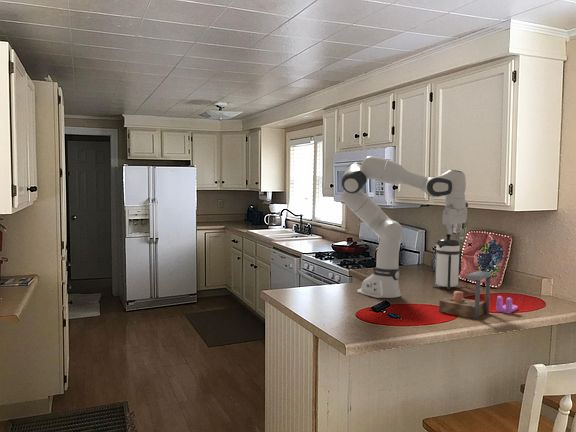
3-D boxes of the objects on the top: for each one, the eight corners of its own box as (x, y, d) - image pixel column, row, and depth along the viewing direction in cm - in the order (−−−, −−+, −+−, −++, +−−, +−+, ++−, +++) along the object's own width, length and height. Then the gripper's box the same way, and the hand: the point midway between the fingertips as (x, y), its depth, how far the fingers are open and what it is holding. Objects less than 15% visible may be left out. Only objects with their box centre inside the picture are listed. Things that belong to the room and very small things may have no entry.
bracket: (508, 313, 226) (509, 298, 225) (496, 311, 230) (496, 296, 229) (519, 308, 235) (520, 294, 235) (507, 306, 239) (507, 292, 239)
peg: (460, 313, 225) (461, 293, 225) (451, 311, 228) (452, 291, 227) (463, 311, 228) (464, 292, 228) (454, 310, 231) (455, 290, 230)
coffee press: (464, 291, 269) (466, 235, 267) (433, 289, 272) (435, 234, 270) (460, 284, 286) (462, 232, 284) (431, 283, 289) (432, 231, 287)
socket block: (439, 311, 228) (439, 300, 227) (450, 306, 237) (450, 296, 236) (474, 318, 217) (474, 307, 217) (484, 313, 226) (484, 302, 226)
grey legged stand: (464, 317, 219) (465, 275, 218) (476, 310, 230) (478, 270, 228) (478, 319, 215) (479, 277, 214) (489, 313, 226) (491, 272, 224)
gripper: (452, 205, 229) (451, 235, 230) (469, 203, 244) (468, 232, 245) (439, 204, 233) (438, 234, 234) (457, 203, 249) (456, 231, 250)
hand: (454, 233), depth 240 cm, fingers open, 8 cm apart
